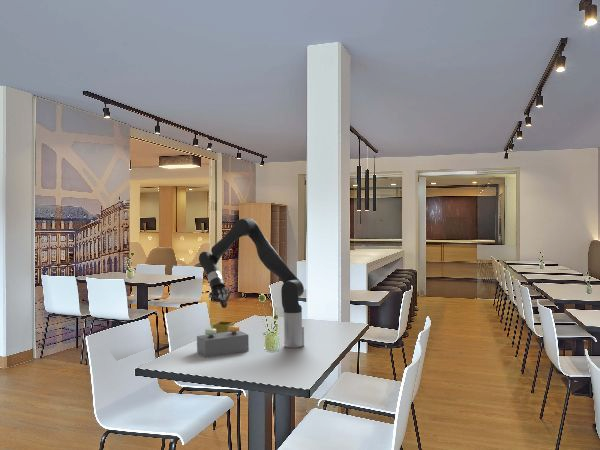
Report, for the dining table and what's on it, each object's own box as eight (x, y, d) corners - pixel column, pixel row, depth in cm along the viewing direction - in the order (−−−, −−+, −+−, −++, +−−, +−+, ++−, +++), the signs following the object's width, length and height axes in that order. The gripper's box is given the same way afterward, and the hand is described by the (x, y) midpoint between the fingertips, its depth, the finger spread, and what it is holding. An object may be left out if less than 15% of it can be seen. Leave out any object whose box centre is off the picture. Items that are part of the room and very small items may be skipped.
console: (238, 346, 245) (238, 330, 245) (248, 350, 235) (248, 334, 235) (197, 352, 234) (196, 336, 234) (205, 357, 223) (205, 340, 223)
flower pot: (227, 342, 254) (227, 325, 254) (212, 341, 257) (212, 324, 257) (234, 338, 263) (234, 322, 263) (220, 337, 265) (220, 321, 265)
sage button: (214, 337, 235) (214, 328, 235) (218, 339, 230) (217, 329, 230) (203, 338, 232) (203, 329, 232) (207, 340, 228) (207, 331, 228)
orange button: (236, 334, 241) (236, 325, 241) (241, 335, 236) (240, 326, 236) (227, 335, 238) (227, 326, 238) (231, 337, 234) (231, 328, 234)
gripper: (205, 277, 252) (214, 303, 242) (229, 276, 259) (238, 301, 248) (202, 286, 257) (211, 312, 246) (225, 285, 264) (235, 310, 253)
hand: (224, 307), depth 247 cm, fingers closed
